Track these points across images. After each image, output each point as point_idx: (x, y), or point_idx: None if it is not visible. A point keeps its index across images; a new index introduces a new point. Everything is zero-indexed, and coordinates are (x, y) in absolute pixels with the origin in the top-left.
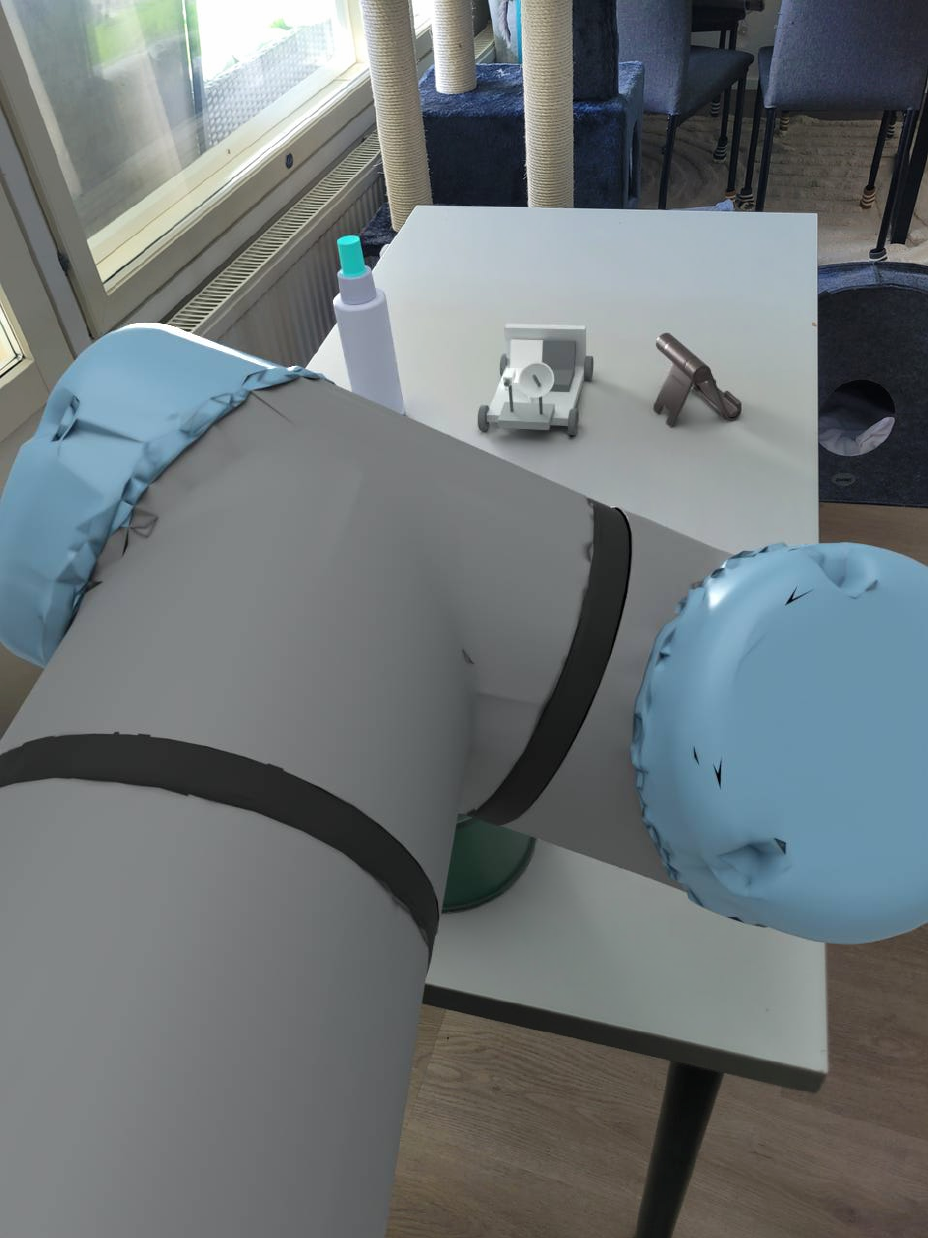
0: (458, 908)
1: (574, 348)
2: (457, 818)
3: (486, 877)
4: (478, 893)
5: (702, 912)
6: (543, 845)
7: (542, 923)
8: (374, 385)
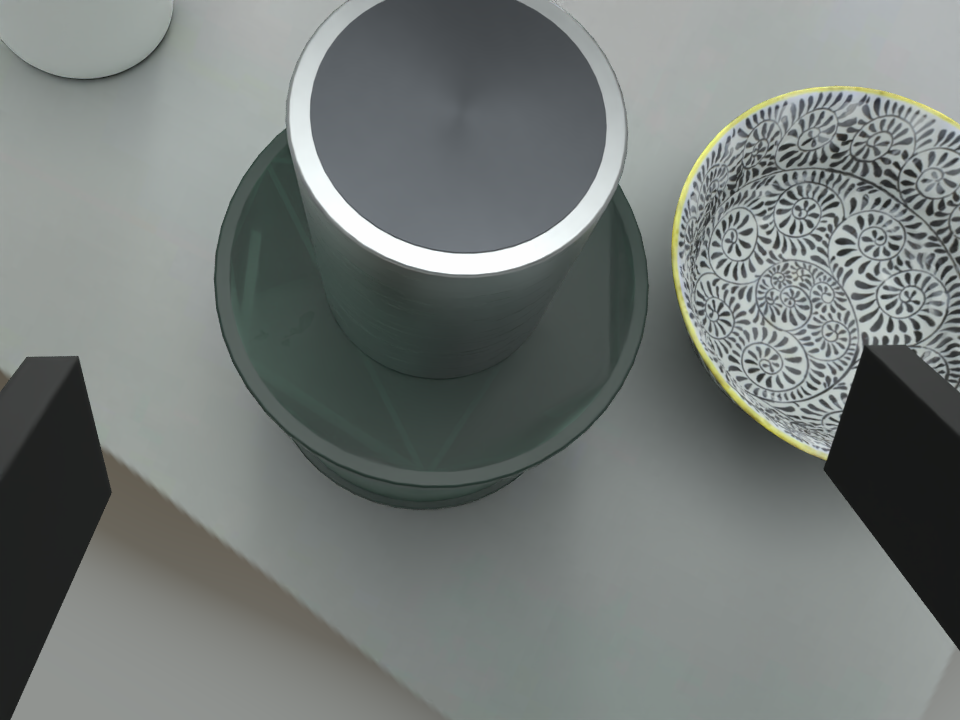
0: (382, 503)
1: None
2: (415, 475)
3: (443, 496)
4: (422, 500)
5: (744, 676)
6: None
7: (500, 582)
8: None
